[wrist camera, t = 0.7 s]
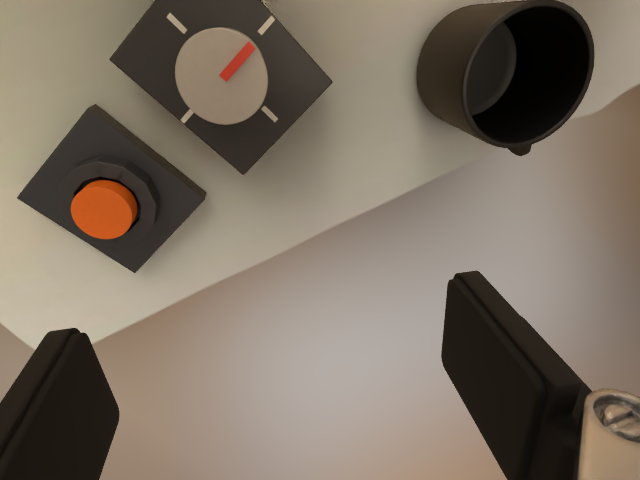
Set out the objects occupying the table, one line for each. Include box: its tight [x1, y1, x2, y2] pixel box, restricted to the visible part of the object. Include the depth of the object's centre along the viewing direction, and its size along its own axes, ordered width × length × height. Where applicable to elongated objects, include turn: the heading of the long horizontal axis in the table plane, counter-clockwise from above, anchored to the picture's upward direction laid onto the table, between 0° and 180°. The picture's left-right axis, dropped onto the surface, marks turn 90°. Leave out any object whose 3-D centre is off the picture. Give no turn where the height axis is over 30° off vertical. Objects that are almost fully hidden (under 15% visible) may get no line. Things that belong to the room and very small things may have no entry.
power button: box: [71, 180, 137, 239], centre depth 33 cm, size 4×4×2 cm
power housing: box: [17, 104, 206, 273], centre depth 35 cm, size 11×10×4 cm
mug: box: [417, 0, 594, 156], centre depth 32 cm, size 9×12×9 cm
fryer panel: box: [110, 0, 332, 175], centre depth 31 cm, size 12×10×4 cm
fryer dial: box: [175, 27, 268, 125], centre depth 27 cm, size 6×6×5 cm
